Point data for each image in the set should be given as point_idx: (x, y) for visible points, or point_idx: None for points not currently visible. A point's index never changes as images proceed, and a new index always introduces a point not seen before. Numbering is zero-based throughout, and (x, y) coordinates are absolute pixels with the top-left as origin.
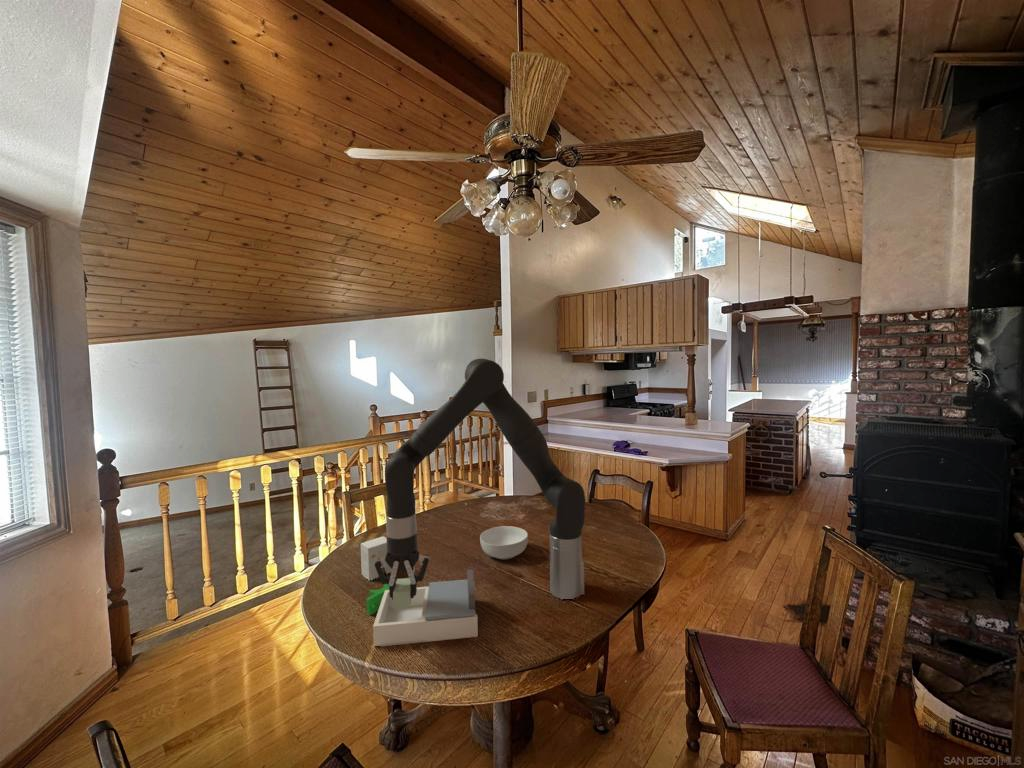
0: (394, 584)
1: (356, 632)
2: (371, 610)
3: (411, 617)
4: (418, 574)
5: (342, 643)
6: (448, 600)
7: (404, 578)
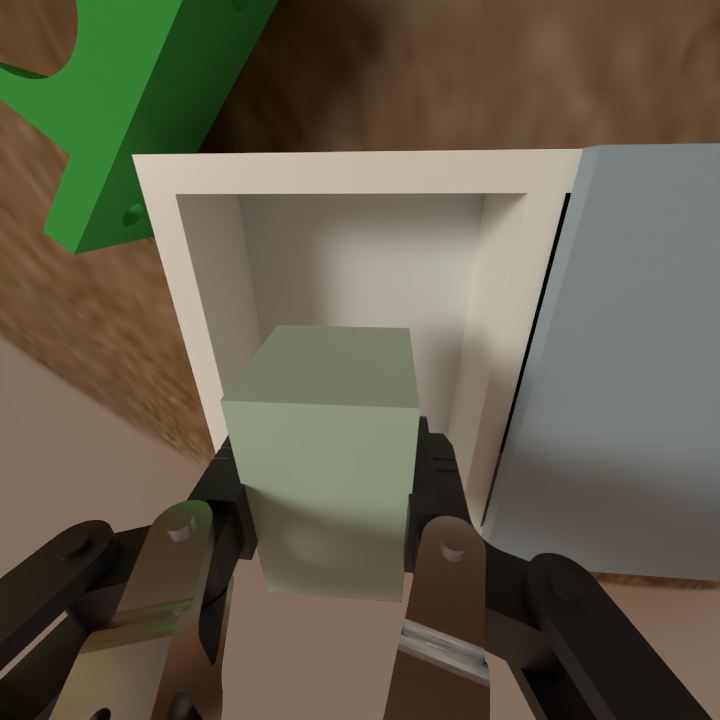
0: (238, 537)
1: (158, 362)
2: (142, 228)
3: (394, 318)
4: (525, 633)
5: (140, 414)
6: (669, 473)
7: (314, 406)
